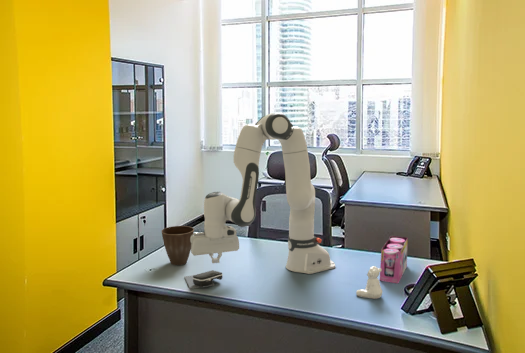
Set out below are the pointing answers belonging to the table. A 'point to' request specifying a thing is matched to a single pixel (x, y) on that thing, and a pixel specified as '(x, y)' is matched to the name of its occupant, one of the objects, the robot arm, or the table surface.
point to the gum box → (393, 259)
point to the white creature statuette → (371, 285)
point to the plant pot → (177, 243)
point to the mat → (191, 285)
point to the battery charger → (206, 278)
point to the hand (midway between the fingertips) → (215, 262)
